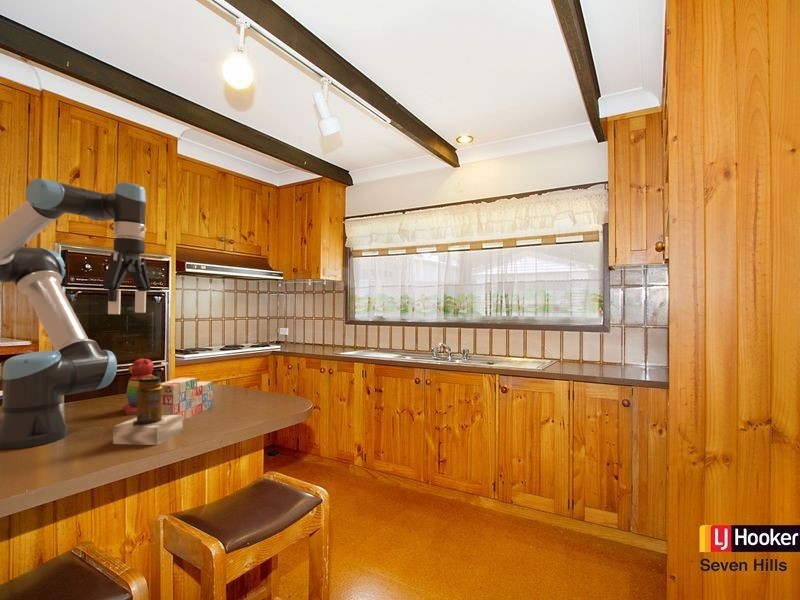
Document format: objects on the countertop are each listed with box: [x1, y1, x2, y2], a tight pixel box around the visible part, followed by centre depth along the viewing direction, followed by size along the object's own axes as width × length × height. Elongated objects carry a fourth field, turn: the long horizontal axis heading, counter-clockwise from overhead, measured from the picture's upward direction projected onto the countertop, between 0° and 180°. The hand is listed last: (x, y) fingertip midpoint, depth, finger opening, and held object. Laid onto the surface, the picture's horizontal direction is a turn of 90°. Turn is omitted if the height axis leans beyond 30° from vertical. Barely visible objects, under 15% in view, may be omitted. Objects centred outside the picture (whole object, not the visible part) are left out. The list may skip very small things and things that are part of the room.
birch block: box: [112, 415, 184, 446], centre depth 117 cm, size 12×12×5 cm
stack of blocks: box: [161, 377, 213, 421], centre depth 140 cm, size 21×6×12 cm, turn 172°
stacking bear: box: [122, 357, 155, 416], centre depth 146 cm, size 11×10×18 cm
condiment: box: [132, 375, 164, 427], centre depth 115 cm, size 7×8×12 cm
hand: (127, 313), depth 120 cm, fingers open, 13 cm apart
